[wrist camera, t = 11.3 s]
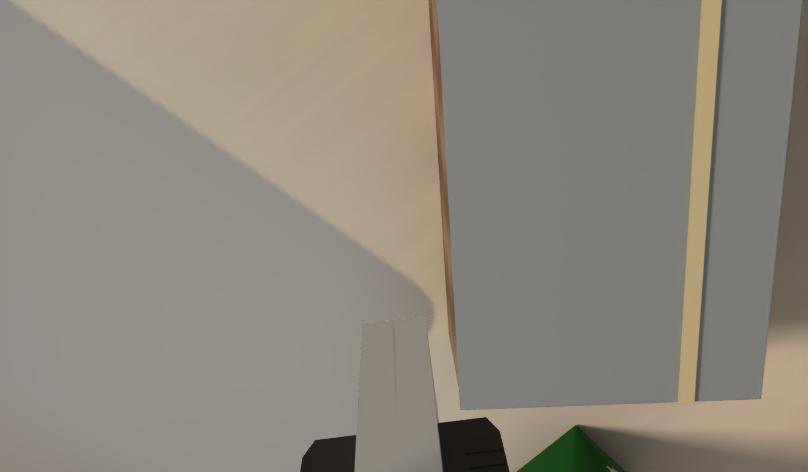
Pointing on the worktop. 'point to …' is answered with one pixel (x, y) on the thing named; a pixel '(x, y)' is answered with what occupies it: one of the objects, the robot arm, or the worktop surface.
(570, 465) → the milk carton
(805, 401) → the worktop surface
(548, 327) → the lid
